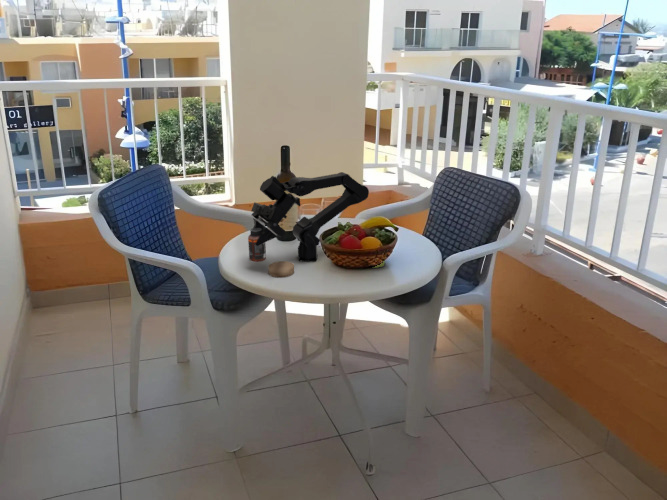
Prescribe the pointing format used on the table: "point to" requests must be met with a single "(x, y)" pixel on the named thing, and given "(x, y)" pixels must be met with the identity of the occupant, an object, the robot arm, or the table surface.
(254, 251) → the supplement bottle
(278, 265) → the walnut stand
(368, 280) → the table surface
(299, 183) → the robot arm
